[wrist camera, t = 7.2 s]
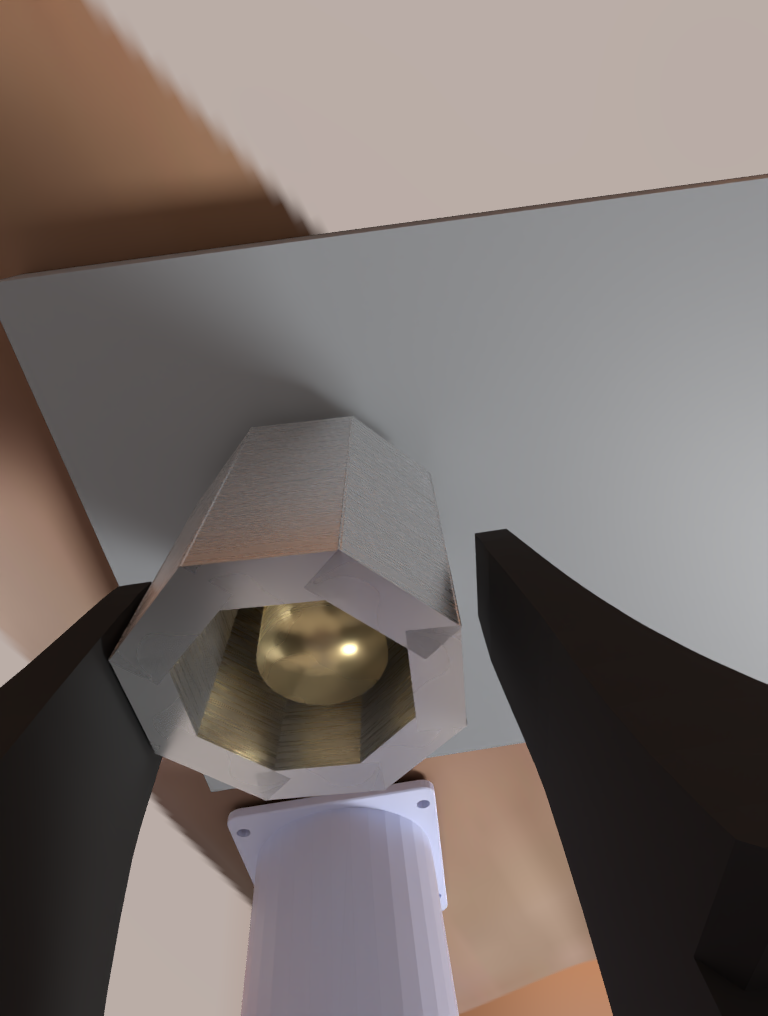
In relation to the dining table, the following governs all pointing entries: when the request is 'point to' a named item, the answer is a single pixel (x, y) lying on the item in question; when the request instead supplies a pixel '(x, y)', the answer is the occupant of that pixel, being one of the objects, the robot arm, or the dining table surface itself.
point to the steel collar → (294, 579)
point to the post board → (447, 406)
